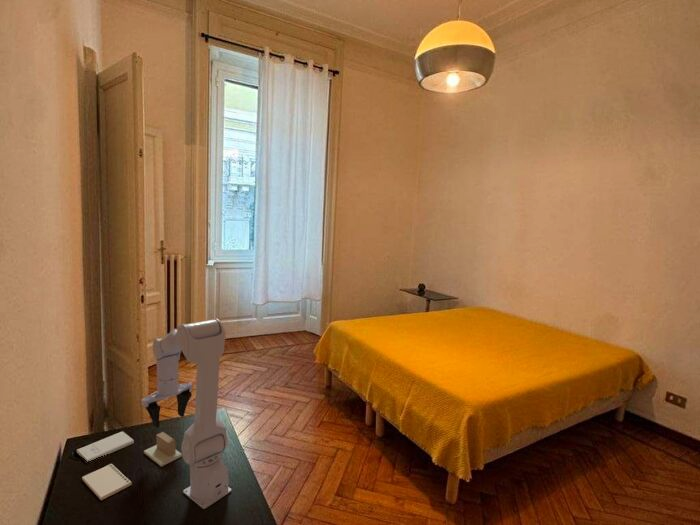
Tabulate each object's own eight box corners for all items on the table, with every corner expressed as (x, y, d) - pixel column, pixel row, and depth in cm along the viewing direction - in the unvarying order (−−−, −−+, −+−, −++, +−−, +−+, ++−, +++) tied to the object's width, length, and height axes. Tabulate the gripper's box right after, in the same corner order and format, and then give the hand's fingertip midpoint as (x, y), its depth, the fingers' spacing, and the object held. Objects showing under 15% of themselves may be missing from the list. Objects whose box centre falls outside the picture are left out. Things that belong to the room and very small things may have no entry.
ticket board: (131, 484, 97) (131, 481, 97) (101, 500, 91) (100, 497, 91) (111, 466, 104) (111, 463, 104) (82, 479, 98) (82, 476, 98)
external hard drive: (134, 444, 115) (87, 465, 105) (122, 435, 120) (76, 453, 110) (133, 439, 115) (87, 459, 105) (122, 430, 120) (76, 448, 110)
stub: (181, 456, 109) (181, 440, 109) (161, 466, 104) (160, 450, 104) (164, 443, 115) (163, 428, 114) (144, 453, 110) (143, 437, 110)
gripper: (183, 366, 119) (184, 407, 120) (135, 381, 107) (137, 426, 108) (196, 372, 114) (197, 414, 116) (147, 388, 103) (149, 434, 104)
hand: (169, 420), depth 112 cm, fingers open, 7 cm apart
